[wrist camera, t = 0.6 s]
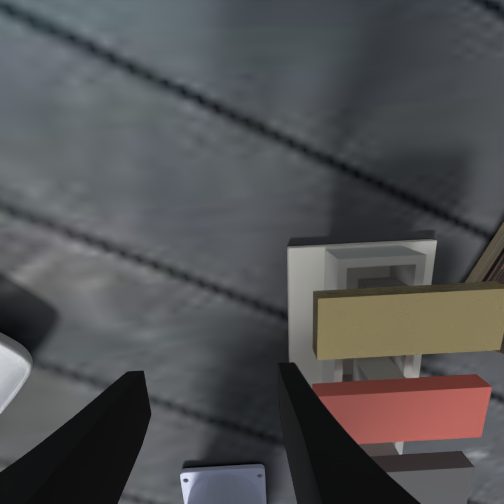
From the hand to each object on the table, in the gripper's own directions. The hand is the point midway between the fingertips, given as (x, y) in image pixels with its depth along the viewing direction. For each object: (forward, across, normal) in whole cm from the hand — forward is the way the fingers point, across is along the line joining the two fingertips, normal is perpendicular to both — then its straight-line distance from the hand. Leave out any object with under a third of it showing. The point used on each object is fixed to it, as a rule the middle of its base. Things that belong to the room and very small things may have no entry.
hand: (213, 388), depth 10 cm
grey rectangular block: (+8, -10, +12) cm, 17 cm away
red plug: (+8, -10, +6) cm, 14 cm away
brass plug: (+8, -10, 0) cm, 13 cm away
